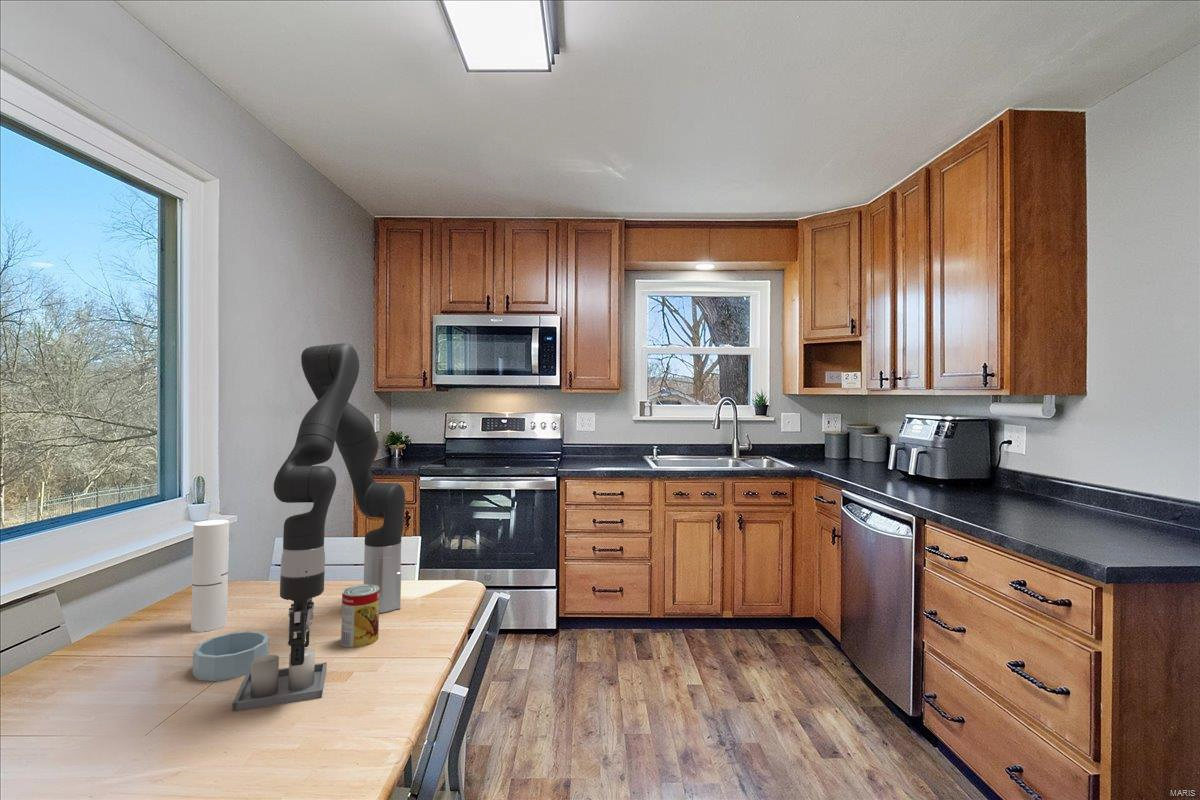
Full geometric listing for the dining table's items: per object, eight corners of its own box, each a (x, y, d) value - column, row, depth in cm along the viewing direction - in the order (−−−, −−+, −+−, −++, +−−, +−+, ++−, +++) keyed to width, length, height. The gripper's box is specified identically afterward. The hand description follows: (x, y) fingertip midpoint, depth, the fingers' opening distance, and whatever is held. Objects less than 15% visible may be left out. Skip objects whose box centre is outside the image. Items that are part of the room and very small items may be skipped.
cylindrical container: (233, 621, 140) (236, 520, 140) (211, 632, 133) (214, 526, 133) (207, 619, 141) (209, 519, 141) (183, 631, 134) (186, 525, 134)
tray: (326, 671, 115) (326, 662, 115) (321, 699, 104) (321, 690, 104) (246, 682, 110) (246, 673, 110) (232, 714, 99) (232, 703, 99)
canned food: (385, 639, 131) (387, 587, 131) (358, 652, 124) (359, 597, 124) (361, 633, 134) (362, 582, 135) (333, 645, 127) (334, 591, 128)
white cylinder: (279, 684, 108) (280, 653, 108) (276, 695, 104) (276, 663, 104) (253, 688, 106) (253, 656, 106) (248, 700, 102) (249, 666, 102)
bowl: (272, 651, 124) (272, 628, 124) (261, 676, 112) (262, 651, 112) (203, 659, 119) (204, 635, 119) (185, 687, 107) (186, 661, 108)
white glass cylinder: (315, 677, 111) (316, 646, 111) (313, 687, 107) (313, 656, 107) (289, 681, 110) (290, 650, 110) (286, 691, 106) (287, 659, 106)
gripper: (321, 578, 103) (318, 668, 103) (327, 559, 117) (324, 639, 116) (274, 582, 101) (271, 674, 100) (286, 562, 114) (283, 643, 113)
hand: (300, 655), depth 108 cm, fingers open, 8 cm apart
